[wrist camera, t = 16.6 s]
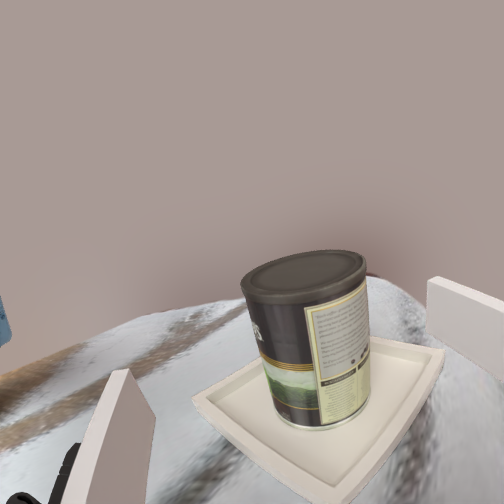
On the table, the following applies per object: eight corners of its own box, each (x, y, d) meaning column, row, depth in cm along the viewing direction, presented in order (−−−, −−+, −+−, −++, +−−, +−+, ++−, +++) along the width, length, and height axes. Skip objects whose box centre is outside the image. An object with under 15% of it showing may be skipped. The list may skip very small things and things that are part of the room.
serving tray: (198, 412, 27) (190, 397, 27) (313, 336, 39) (311, 321, 38) (335, 516, 11) (335, 506, 11) (442, 367, 23) (445, 350, 22)
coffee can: (266, 435, 21) (224, 302, 18) (279, 371, 31) (253, 261, 28) (379, 423, 19) (379, 277, 16) (364, 359, 29) (354, 242, 26)
